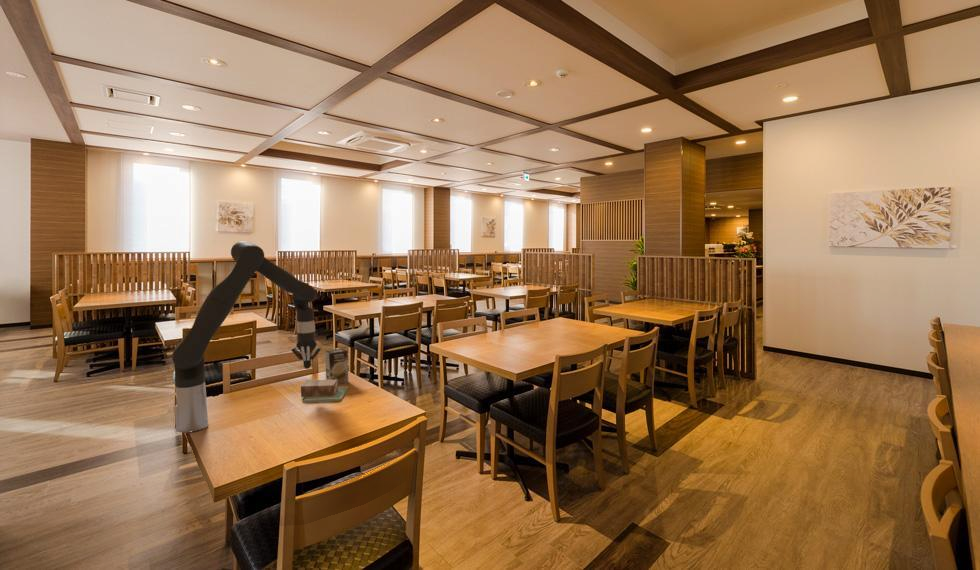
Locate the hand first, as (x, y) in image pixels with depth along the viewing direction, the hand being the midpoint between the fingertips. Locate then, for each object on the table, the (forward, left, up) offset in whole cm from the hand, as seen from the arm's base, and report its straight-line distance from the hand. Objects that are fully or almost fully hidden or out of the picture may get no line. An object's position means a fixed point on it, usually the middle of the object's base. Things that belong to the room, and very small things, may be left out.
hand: (307, 368), depth 196 cm
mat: (+8, 0, -13) cm, 15 cm away
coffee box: (+9, +17, -13) cm, 23 cm away
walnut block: (-2, 0, -10) cm, 10 cm away
